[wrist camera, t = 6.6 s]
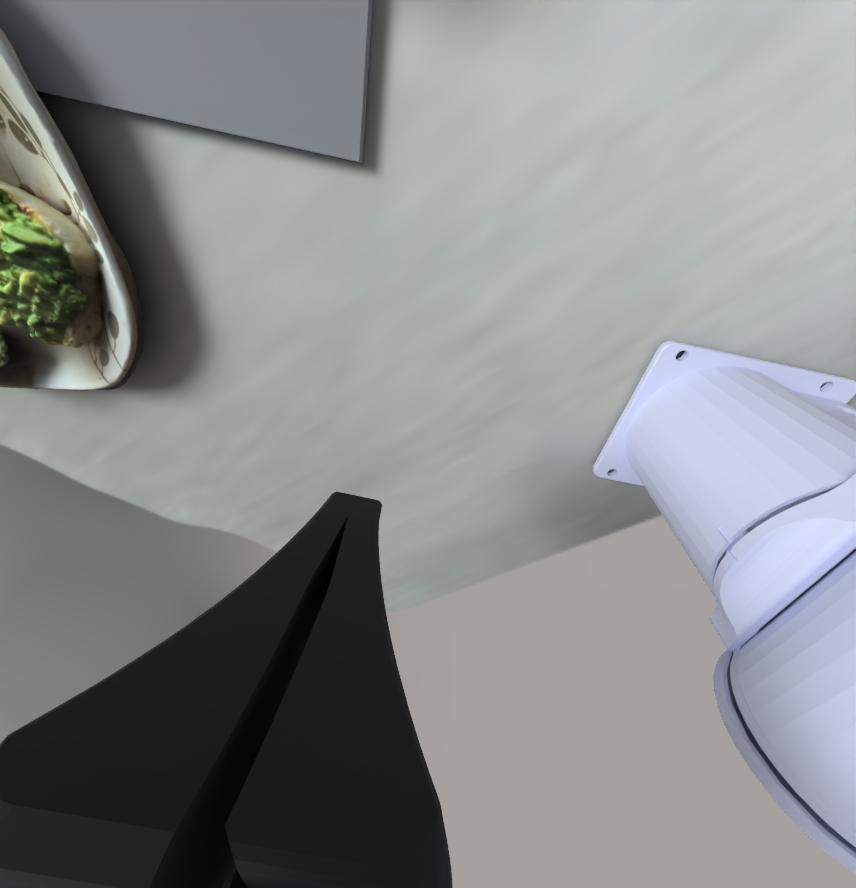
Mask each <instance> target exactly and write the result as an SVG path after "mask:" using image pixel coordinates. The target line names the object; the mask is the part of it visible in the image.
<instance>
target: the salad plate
mask: <svg viewBox="0 0 856 888" xmlns="http://www.w3.org/2000/svg"><path fill="white" fill-rule="evenodd" d="M143 341H144V319H143V314H142V310H141V306H140V302H139V296H138V291H137V285H136V282H135V279H134V277H133V274H132V271H131V268H130V265H129V262H128V260H127V258H126V257H125V255H124V253H123V251H122V250H121V248H120V246H119V245H118V244H117V242H116V241H115V239H114V238H113V236H112V234H111V232H110V231H109V229H108V227H107V225H106V223H105V221H104V219H103V217H102V215H101V212H100V210H99V208H98V206H97V205H96V202H95V200H94V198H93V196H92V194H91V192H90V189H89V187H88V185H87V183H86V181H85V179H84V177H83V175H82V173H81V171H80V169H79V166H78V164H77V161H76V159H75V157H74V155H73V153H72V151H71V149H70V148H69V146H68V144H67V143H66V141H65V139H64V137H63V136H62V134H61V132H60V130H59V129H58V127H57V125H56V124H55V122H54V120H53V119H52V117H51V115H50V114H49V112H48V110H47V109H46V107H45V105H44V104H43V102H42V100H41V99H40V97H39V95H38V94H37V92H36V91H35V89H34V87H33V86H32V84H31V83H30V81H29V79H28V77H27V75H26V74H25V72H24V70H23V67H22V65H21V63H20V61H19V59H18V57H17V55H16V53H15V51H14V49H13V47H12V45H11V44H10V42H9V40H8V39H7V37H6V35H5V34H4V32H3V31H2V30H1V28H0V387H10V388H36V389H38V388H48V389H55V390H57V389H66V390H109V389H115V388H118V387H120V386H122V385H123V384H124V383H125V382H126V381H127V380H128V379H129V377H130V376H131V374H132V373H133V371H134V369H135V367H136V365H137V362H138V360H139V358H140V355H141V353H142V351H143Z"/></svg>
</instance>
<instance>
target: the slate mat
mask: <svg viewBox="0 0 856 888" xmlns="http://www.w3.org/2000/svg"><path fill="white" fill-rule="evenodd" d="M372 11H373V0H0V28H1V30H2V31H3V32H4V34H5V35H6V37H7V39H8V40H9V42H10V44H11V45H12V47H13V49H14V51H15V53H16V55H17V57H18V59H19V61H20V63H21V65H22V67H23V70H24V72H25V74H26V75H27V77H28V79H29V81H30V83H31V84H32V86H33V87H34V89H35V91H38V92H42V93H47V94H51V95H56V96H60V97H65V98H69V99H74V100H78V101H83V102H87V103H92V104H96V105H101V106H105V107H110V108H114V109H119V110H124V111H128V112H133V113H137V114H142V115H146V116H151V117H155V118H160V119H164V120H169V121H173V122H178V123H182V124H187V125H191V126H196V127H200V128H205V129H210V130H214V131H219V132H223V133H228V134H232V135H237V136H241V137H246V138H250V139H255V140H259V141H264V142H268V143H273V144H277V145H282V146H286V147H291V148H296V149H300V150H305V151H309V152H314V153H318V154H323V155H327V156H332V157H336V158H341V159H345V160H350V161H354V162H359V163H363V152H364V137H365V121H366V105H367V90H368V74H369V58H370V43H371V27H372Z"/></svg>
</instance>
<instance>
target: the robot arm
mask: <svg viewBox="0 0 856 888" xmlns="http://www.w3.org/2000/svg"><path fill="white" fill-rule="evenodd" d="M680 351H684V354H683V355H682V356H681V357H680V358H676V355H677V354H678V353H679V352H680ZM824 383H826V384H825V385H824V386H823V387H821V385H822V384H824ZM820 387H821V388H820ZM855 394H856V381H854V380H852V379H849V378H845V377H840V376H836V375H831V374H826V373H822V372H817V371H812V370H808V369H803V368H798V367H793V366H789V365H784V364H779V363H775V362H770V361H765V360H761V359H756V358H751V357H747V356H742V355H737V354H733V353H728V352H723V351H719V350H714V349H709V348H705V347H700V346H695V345H690V344H686V343H681V342H676V341H668V342H665V343H663V344H662V345H661V346H660V347H659V348H658V350H657V352H656V353H655V355H654V357H653V359H652V361H651V362H650V364H649V366H648V368H647V370H646V371H645V373H644V375H643V377H642V379H641V381H640V382H639V384H638V386H637V388H636V390H635V391H634V393H633V395H632V397H631V399H630V400H629V402H628V404H627V406H626V408H625V410H624V411H623V413H622V415H621V417H620V419H619V420H618V422H617V424H616V426H615V428H614V429H613V431H612V433H611V435H610V437H609V439H608V440H607V442H606V444H605V446H604V448H603V449H602V451H601V453H600V455H599V457H598V458H597V460H596V462H595V464H594V466H593V471H594V474H595V475H596V476H598V477H601V478H605V479H610V480H615V481H620V482H625V483H630V484H635V485H640V486H644V487H645V488H646V490H647V491H648V493H649V495H650V496H651V498H652V499H653V501H654V502H655V504H656V506H657V507H658V509H659V510H660V512H661V513H662V515H663V516H664V518H665V520H666V521H667V523H668V524H669V526H670V527H671V529H672V531H673V532H674V534H675V535H676V537H677V538H678V540H679V542H680V543H681V545H682V546H683V548H684V549H685V551H686V552H687V554H688V556H689V557H690V559H691V560H692V562H693V563H694V565H695V567H696V568H697V570H698V571H699V573H700V574H701V576H702V578H703V579H704V581H705V582H706V584H707V585H708V587H709V589H710V590H711V592H712V593H713V595H714V596H715V598H716V602H717V607H716V610H715V612H714V613H713V614H712V616H711V617H710V620H711V622H712V624H713V626H714V627H715V629H716V630H717V632H718V634H719V636H720V637H721V639H722V641H723V642H724V644H725V646H726V648H727V649H728V650H727V651H726V652H724V654H722V655H721V657H720V658H719V660H718V662H717V664H716V667H715V672H714V692H715V695H716V700H717V705H718V708H719V711H720V713H721V716H722V719H723V721H724V724H725V726H726V728H727V730H728V732H729V734H730V736H731V738H732V740H733V742H734V744H735V746H736V747H737V749H738V750H739V752H740V754H741V755H742V757H743V759H744V760H745V762H746V763H747V765H748V766H749V768H750V769H751V770H752V772H753V773H754V775H755V776H756V777H757V779H758V780H759V781H760V783H761V784H762V785H763V787H764V788H765V789H766V791H767V792H768V793H769V794H770V795H771V797H772V798H773V799H774V800H775V801H776V802H777V804H778V805H779V806H780V807H781V808H782V809H783V810H784V812H785V813H786V814H787V815H788V816H789V817H790V818H791V819H792V820H793V821H794V822H795V823H796V824H797V825H798V826H799V827H800V828H801V829H802V830H803V831H804V832H805V833H806V834H807V835H808V836H809V837H810V838H811V839H812V840H813V841H814V842H815V843H816V844H818V845H819V846H820V847H821V848H822V849H823V850H825V851H826V852H827V853H828V854H829V855H830V856H831V857H833V858H834V859H835V860H836V861H837V862H839V863H840V864H841V865H843V866H844V867H845V868H847V869H848V870H850V871H851V872H852V873H854V874H855V875H856V409H855V408H853V407H851V406H849V405H847V404H846V403H847V402H848V401H849V400H850V399H851V398H852V397H853V396H854V395H855ZM611 469H615V470H614V471H612V472H608V471H609V470H611ZM381 507H382V504H381V503H380V501H378V500H374V499H369V498H364V497H359V496H355V495H350V494H345V493H340V492H335V493H333V494H332V495H331V496H330V497H329V499H328V500H327V501H326V502H325V503H324V505H323V506H322V507H321V508H320V509H319V510H318V512H317V513H316V514H315V515H314V516H313V517H312V518H311V519H310V520H309V521H308V523H307V524H306V525H305V526H304V527H303V528H302V529H301V530H300V531H299V532H298V533H297V534H296V535H295V536H294V537H293V538H292V539H291V540H290V541H289V542H288V543H287V544H286V545H285V546H284V547H283V548H282V549H281V550H280V551H278V552H277V553H276V554H275V555H274V556H273V557H272V558H271V559H270V560H268V561H267V562H266V563H265V564H264V565H263V566H262V567H261V568H260V569H259V570H257V571H256V572H255V573H254V574H253V575H252V576H250V577H249V578H248V579H247V580H246V581H244V582H243V583H242V584H241V585H239V586H238V587H237V588H236V589H235V590H233V591H232V592H231V593H229V594H228V595H227V596H226V597H224V598H223V599H222V600H221V601H219V602H218V603H217V604H215V605H214V606H213V607H211V608H210V609H209V610H207V611H206V612H204V613H203V614H202V615H200V616H199V617H198V618H196V619H195V620H193V621H192V622H191V623H189V624H188V625H187V626H185V627H184V628H182V629H181V630H180V631H178V632H177V633H175V634H174V635H172V636H171V637H169V638H168V639H166V640H165V641H164V642H162V643H160V644H159V645H157V646H156V647H154V648H152V649H151V650H149V651H148V652H146V653H145V654H143V655H142V656H140V657H138V658H137V659H135V660H134V661H132V662H131V663H129V664H128V665H126V666H124V667H123V668H121V669H120V670H118V671H117V672H115V673H114V674H112V675H111V676H109V677H107V678H105V679H104V680H102V681H101V682H99V683H97V684H96V685H94V686H92V687H90V688H89V689H87V690H85V691H84V692H82V693H80V694H78V695H77V696H75V697H73V698H71V699H70V700H68V701H66V702H65V703H63V704H61V705H59V706H58V707H56V708H54V709H53V710H51V711H49V712H47V713H46V714H44V715H42V716H41V717H39V718H37V719H35V720H33V721H32V722H30V723H28V724H27V725H25V726H23V727H21V728H20V729H18V730H16V731H14V732H13V733H11V734H10V735H8V736H7V737H6V738H5V739H4V740H3V741H2V742H1V744H0V888H452V873H451V864H450V857H449V851H448V844H447V838H446V833H445V828H444V822H443V817H442V811H441V805H440V802H439V799H438V796H437V793H436V790H435V787H434V785H433V782H432V779H431V776H430V773H429V771H428V768H427V764H426V761H425V759H424V756H423V753H422V750H421V747H420V743H419V740H418V737H417V734H416V731H415V728H414V724H413V721H412V718H411V715H410V711H409V708H408V704H407V701H406V697H405V693H404V689H403V686H402V682H401V679H400V675H399V671H398V667H397V664H396V659H395V655H394V650H393V646H392V642H391V637H390V632H389V627H388V622H387V617H386V611H385V605H384V598H383V591H382V583H381V574H380V562H379V545H378V530H379V518H380V513H381Z"/></svg>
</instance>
